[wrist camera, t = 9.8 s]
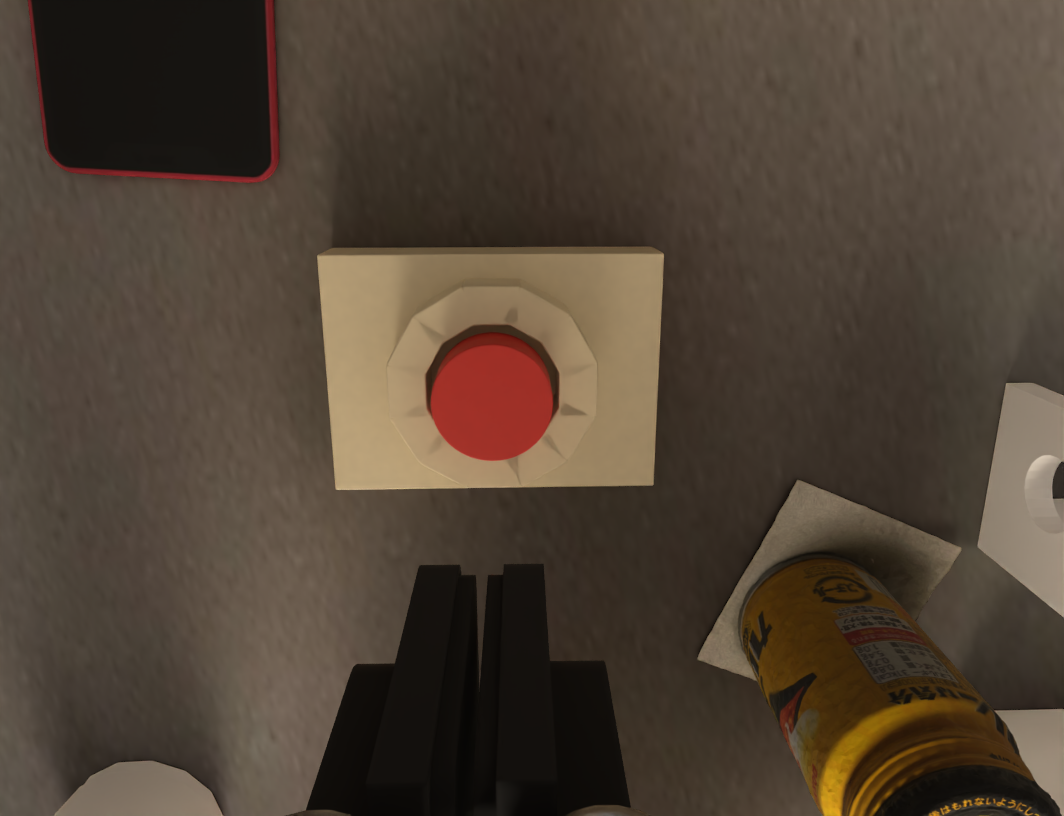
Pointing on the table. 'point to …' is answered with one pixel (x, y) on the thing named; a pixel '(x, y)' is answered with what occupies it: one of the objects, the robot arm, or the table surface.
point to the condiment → (867, 668)
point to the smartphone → (158, 87)
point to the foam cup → (141, 793)
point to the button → (492, 397)
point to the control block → (479, 307)
